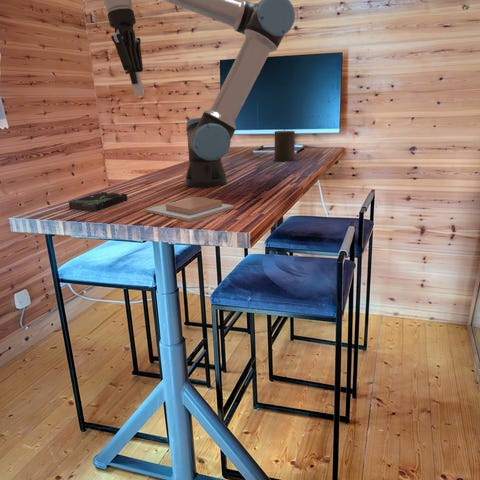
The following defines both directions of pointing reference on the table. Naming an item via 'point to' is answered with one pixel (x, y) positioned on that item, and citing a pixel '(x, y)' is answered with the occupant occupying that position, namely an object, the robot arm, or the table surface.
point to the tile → (193, 205)
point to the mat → (162, 211)
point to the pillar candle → (284, 145)
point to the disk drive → (97, 201)
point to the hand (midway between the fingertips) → (139, 95)
